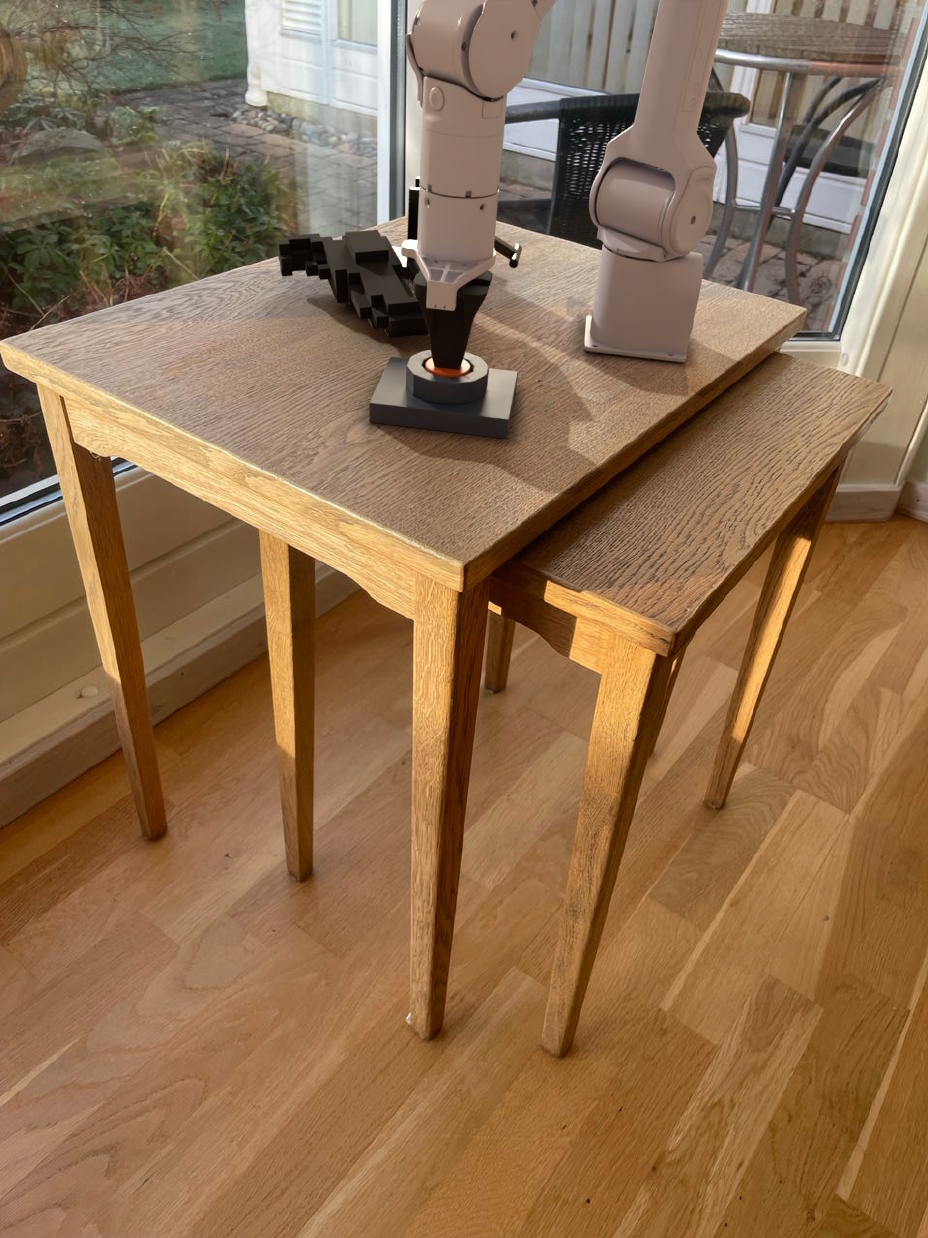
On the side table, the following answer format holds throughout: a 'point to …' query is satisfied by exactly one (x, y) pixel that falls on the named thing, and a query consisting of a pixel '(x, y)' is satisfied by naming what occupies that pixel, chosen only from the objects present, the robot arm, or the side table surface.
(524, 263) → the side table surface
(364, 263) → the tool
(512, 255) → the switch lever
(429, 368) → the button
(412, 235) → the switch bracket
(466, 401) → the button box
